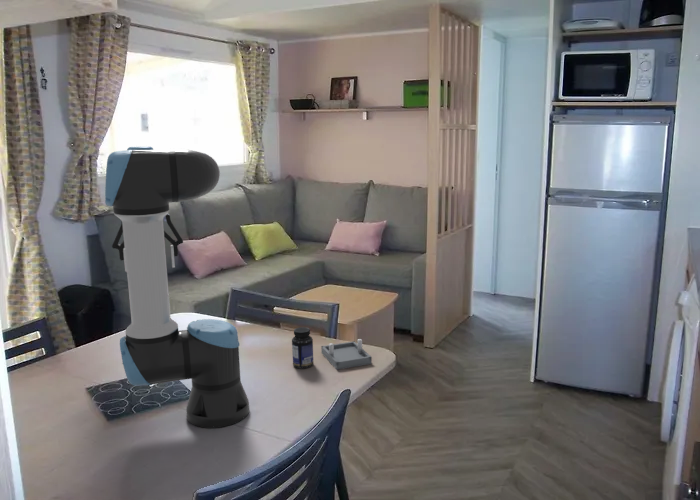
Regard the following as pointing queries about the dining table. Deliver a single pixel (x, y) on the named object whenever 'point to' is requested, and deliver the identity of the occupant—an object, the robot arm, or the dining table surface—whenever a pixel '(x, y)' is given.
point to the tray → (346, 354)
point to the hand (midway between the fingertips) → (150, 268)
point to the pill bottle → (302, 348)
